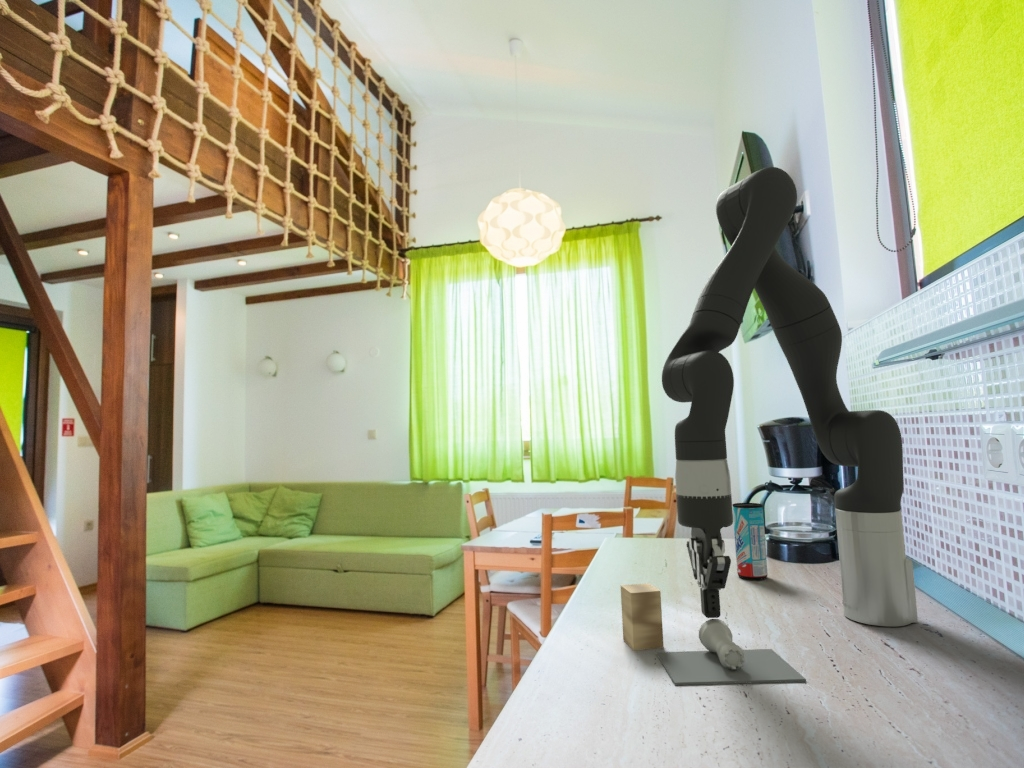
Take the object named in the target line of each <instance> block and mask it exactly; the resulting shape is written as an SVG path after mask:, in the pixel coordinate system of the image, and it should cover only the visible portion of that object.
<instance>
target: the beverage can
mask: <svg viewBox="0 0 1024 768" xmlns="http://www.w3.org/2000/svg"><path fill="white" fill-rule="evenodd" d="M763 506H764V505H763V504H762V503H758V502H757V503H756V502H737V503H736V502H735V503H732V511H733V530H734V531H733V532H734V548H735V560H736V562H735V563H736V574H737V576H738V577H739V578H741V579H743V580H749V581H761V580H765V579H767V578H768V575H769V574H768V562H767V561H768V560H767V549H766V547H767V545H766V533H765V532H766V531H765V530H766V529H765V519H764V509H763Z"/></svg>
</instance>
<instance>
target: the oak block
mask: <svg viewBox="0 0 1024 768" xmlns="http://www.w3.org/2000/svg"><path fill="white" fill-rule="evenodd" d="M661 593H662V592H661V590H660V589H659V588H657V587H656V586H654V585H652V584H651V583H650V582H647V583H636V584H635V583H633V584H623V585H620V598H621V599H620V600H621V601H620V602H621V621H622V622H621V623H622V640H623V641H624V642H625V643H626V644H627V645H628V646H629V647H630V648H631V650H632V651H640V650H641V651H642V650H650V649H651V650H653V649H662V648H663V649H664V647H665V646H664V630H663V615H662V614H663V613H662V611H663V610H662V596H661Z"/></svg>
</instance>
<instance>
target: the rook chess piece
mask: <svg viewBox="0 0 1024 768" xmlns="http://www.w3.org/2000/svg"><path fill="white" fill-rule="evenodd" d="M698 639H699V641H700V644H701V645H702V646H703V647H704V648H705V649H706V651H711V652H713V653H717V655H718V657H719V660H720V662H721V664H722V665H723V666H724V667H726V668H728V669H732V670H736V668H738V667H739V668H741V667H742V663H743V662H744V652H743V650H744V649H743V648H742V647H741V646H740V645H738V644H737V643H735V642H734V641H733V633H732V630H731V628H730V627H729V625H728V624H727V623H726V622H725V621H724V620H721V619H720V618H719V619H718V618H709V619H707V620H705V621H704V622H703V623H702V624H701V626H700V627H699V630H698Z"/></svg>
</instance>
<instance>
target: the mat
mask: <svg viewBox="0 0 1024 768" xmlns="http://www.w3.org/2000/svg"><path fill="white" fill-rule="evenodd" d="M742 650H743V652H744V662H743V663H742V667H741V668H739V667H738V668H736V670H732V669H728V668H726V667H724V666H723V665H722V664H721V662H720V660H719V657H718V655H717V653H713V652H711V651H709V650H690V651H686V650H683V651H657V652H656V656H657V657H658V659H659V661H660V663H661V664H662V666H663V667H664V669H665V671H666V672H667V675H668V676H669V678H670V680H671V681H672V683H673V685H674V686H689V685H690V686H693V685H695V686H696V685H725V684H726V685H730V684H731V685H732V684H764V683H767V684H768V683H802V682H806V683H807V678H805V677H804V676H803V675H802V674H800V673H799V671H797V669H795V668H794V667H793V666H792V665H791V664H789V663H788V662H787V661H786V660H785V659H784V658H782V657H781V656H780V655H779V654H778V653H777V652H775V651H774V650H773V649H772V648H765V649H764V648H763V649H762V648H761V649H760V648H758V649H742Z"/></svg>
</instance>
